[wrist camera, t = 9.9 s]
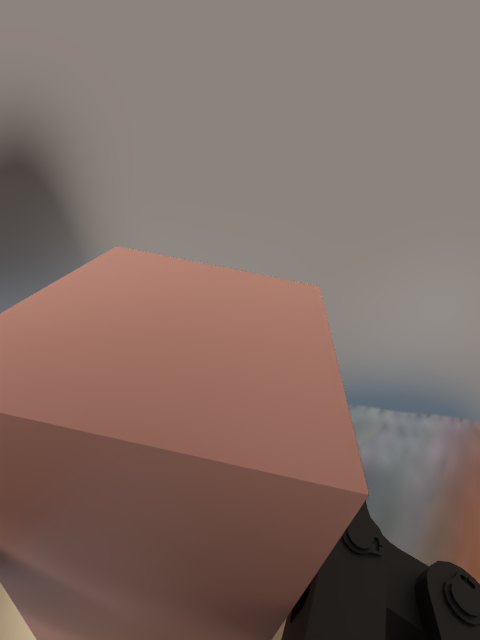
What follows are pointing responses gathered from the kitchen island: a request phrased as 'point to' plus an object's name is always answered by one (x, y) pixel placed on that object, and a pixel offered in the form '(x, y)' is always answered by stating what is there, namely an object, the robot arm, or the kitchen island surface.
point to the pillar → (170, 451)
